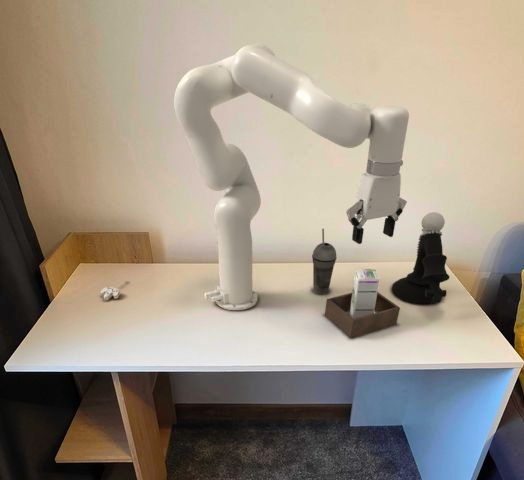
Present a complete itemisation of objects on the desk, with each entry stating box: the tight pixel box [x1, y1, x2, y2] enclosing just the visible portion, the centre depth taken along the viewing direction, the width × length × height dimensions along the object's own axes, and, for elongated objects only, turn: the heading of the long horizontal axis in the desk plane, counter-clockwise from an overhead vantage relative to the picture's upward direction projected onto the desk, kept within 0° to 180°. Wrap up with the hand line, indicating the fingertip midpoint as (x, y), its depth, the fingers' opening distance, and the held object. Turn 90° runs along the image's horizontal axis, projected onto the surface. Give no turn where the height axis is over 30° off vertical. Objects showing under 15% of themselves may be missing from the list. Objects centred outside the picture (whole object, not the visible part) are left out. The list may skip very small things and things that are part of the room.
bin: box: [324, 291, 401, 339], centre depth 126 cm, size 16×13×6 cm
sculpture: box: [391, 211, 451, 306], centre depth 130 cm, size 15×24×25 cm, turn 0°
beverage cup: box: [311, 228, 337, 295], centre depth 135 cm, size 7×7×20 cm
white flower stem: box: [99, 281, 126, 302], centre depth 138 cm, size 6×12×3 cm, turn 179°
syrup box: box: [348, 268, 380, 319], centre depth 124 cm, size 6×6×14 cm
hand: (372, 238), depth 114 cm, fingers open, 9 cm apart
